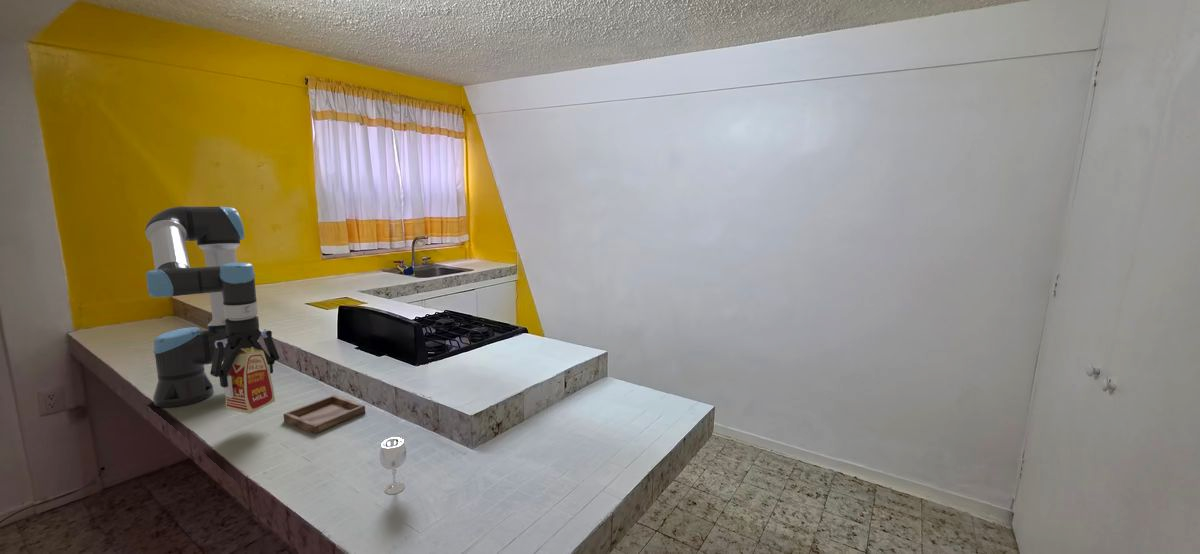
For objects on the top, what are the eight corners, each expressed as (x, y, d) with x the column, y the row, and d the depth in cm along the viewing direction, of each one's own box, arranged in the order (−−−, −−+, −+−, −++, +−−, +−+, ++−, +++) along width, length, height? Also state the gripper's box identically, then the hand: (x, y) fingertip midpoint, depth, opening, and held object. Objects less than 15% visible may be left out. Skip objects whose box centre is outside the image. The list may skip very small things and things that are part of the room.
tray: (284, 421, 141) (283, 413, 140) (334, 401, 155) (333, 394, 154) (315, 434, 133) (315, 426, 133) (365, 412, 148) (364, 405, 147)
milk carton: (250, 413, 130) (243, 347, 126) (224, 409, 132) (216, 343, 128) (278, 400, 139) (272, 337, 135) (253, 395, 141) (247, 334, 137)
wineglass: (386, 481, 113) (384, 436, 111) (410, 480, 113) (408, 436, 111) (377, 496, 107) (375, 449, 105) (402, 495, 107) (400, 448, 106)
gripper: (201, 328, 119) (210, 408, 123) (289, 311, 138) (295, 380, 142) (187, 323, 122) (196, 401, 126) (275, 307, 141) (281, 375, 145)
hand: (249, 390), depth 134 cm, fingers closed on milk carton, 9 cm apart
